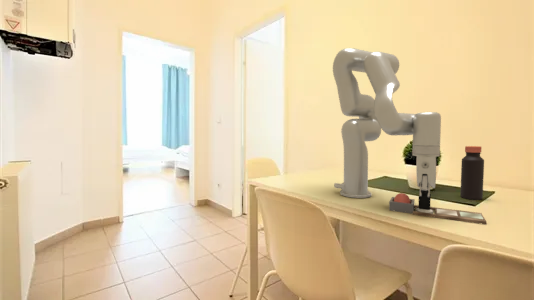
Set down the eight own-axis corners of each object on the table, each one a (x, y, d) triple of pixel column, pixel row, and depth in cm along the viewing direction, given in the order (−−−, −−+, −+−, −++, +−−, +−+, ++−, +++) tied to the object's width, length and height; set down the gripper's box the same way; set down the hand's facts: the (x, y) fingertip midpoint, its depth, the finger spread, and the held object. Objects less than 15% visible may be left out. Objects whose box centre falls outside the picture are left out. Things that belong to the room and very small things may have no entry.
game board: (412, 214, 83) (412, 211, 83) (414, 207, 90) (414, 204, 90) (486, 224, 73) (486, 221, 73) (481, 215, 81) (481, 212, 81)
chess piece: (435, 214, 82) (436, 183, 81) (418, 214, 83) (419, 183, 82) (429, 210, 87) (430, 180, 86) (413, 209, 88) (414, 180, 87)
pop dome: (392, 207, 87) (393, 193, 87) (394, 204, 92) (394, 190, 91) (409, 209, 85) (410, 195, 84) (410, 206, 89) (411, 192, 89)
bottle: (457, 195, 106) (459, 145, 104) (478, 196, 103) (480, 146, 102) (463, 199, 99) (465, 147, 98) (485, 200, 97) (487, 147, 95)
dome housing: (389, 210, 87) (389, 201, 87) (391, 205, 93) (392, 196, 93) (413, 213, 84) (413, 204, 83) (414, 208, 89) (414, 199, 89)
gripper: (440, 153, 74) (438, 216, 76) (439, 149, 88) (437, 202, 90) (410, 152, 78) (409, 212, 80) (414, 149, 93) (412, 199, 94)
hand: (424, 206), depth 85 cm, fingers open, 4 cm apart
